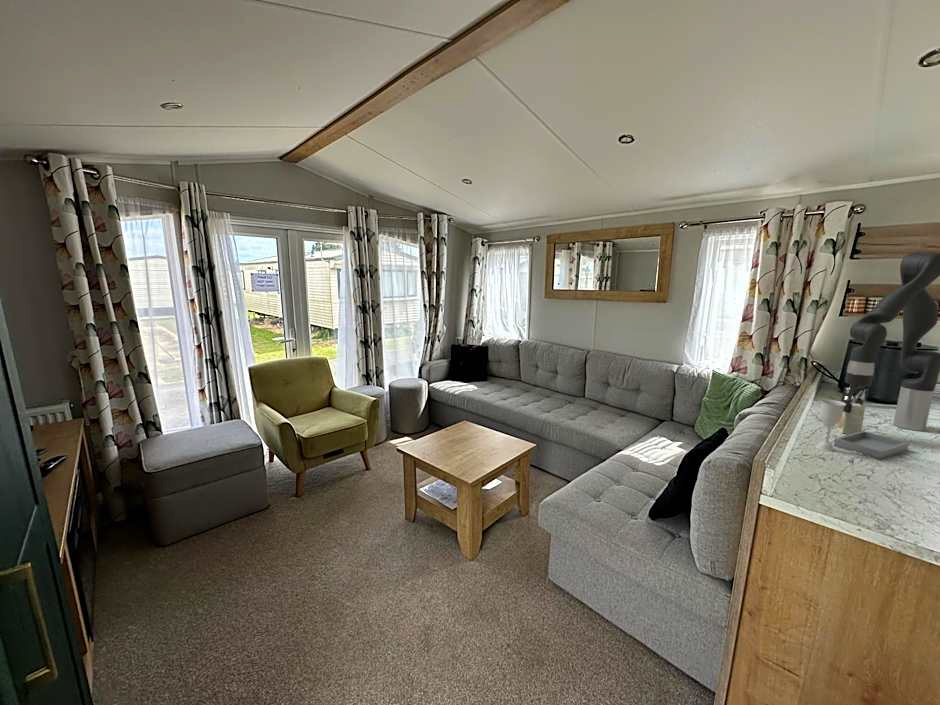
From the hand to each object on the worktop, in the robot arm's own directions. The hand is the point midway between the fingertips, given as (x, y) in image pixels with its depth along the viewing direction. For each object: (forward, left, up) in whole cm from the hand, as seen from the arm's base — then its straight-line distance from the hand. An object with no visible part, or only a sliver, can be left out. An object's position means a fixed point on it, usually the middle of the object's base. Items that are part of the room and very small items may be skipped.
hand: (852, 411), depth 157 cm
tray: (+12, +11, -9) cm, 19 cm away
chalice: (+28, +5, -10) cm, 30 cm away
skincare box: (0, 0, -10) cm, 10 cm away
